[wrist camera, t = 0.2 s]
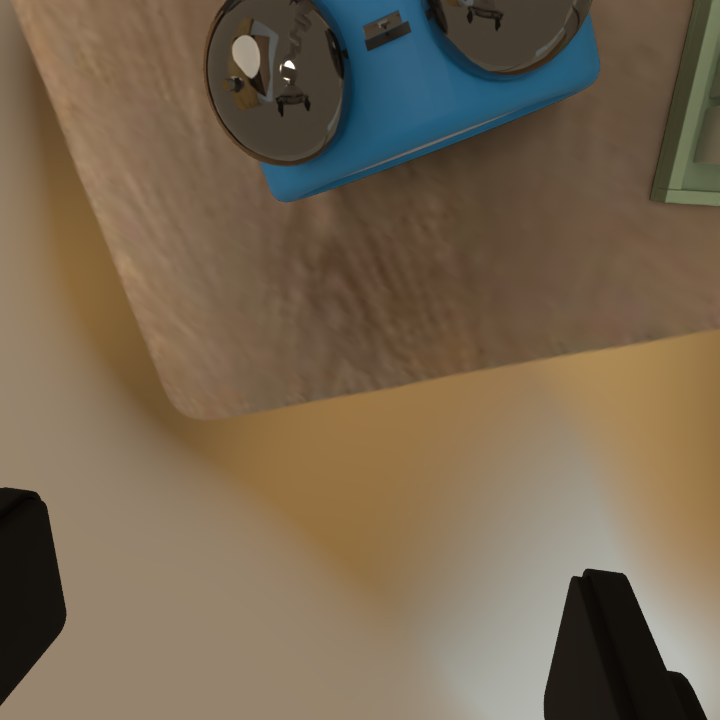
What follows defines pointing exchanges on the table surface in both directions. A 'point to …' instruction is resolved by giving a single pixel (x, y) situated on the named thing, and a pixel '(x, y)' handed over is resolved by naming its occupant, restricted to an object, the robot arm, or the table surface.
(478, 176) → the table surface
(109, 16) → the table surface
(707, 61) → the green tray
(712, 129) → the white books
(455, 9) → the alarm clock
